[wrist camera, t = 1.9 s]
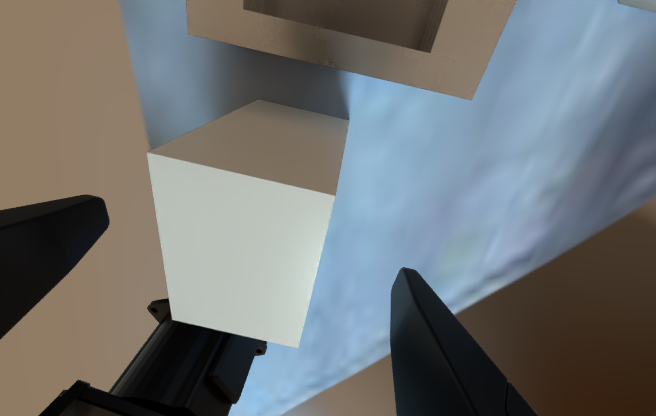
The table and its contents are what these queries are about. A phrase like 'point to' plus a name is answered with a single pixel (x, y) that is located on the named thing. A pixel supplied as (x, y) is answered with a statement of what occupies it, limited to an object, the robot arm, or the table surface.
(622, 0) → the flask
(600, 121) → the table surface
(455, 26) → the socket
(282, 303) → the plug
